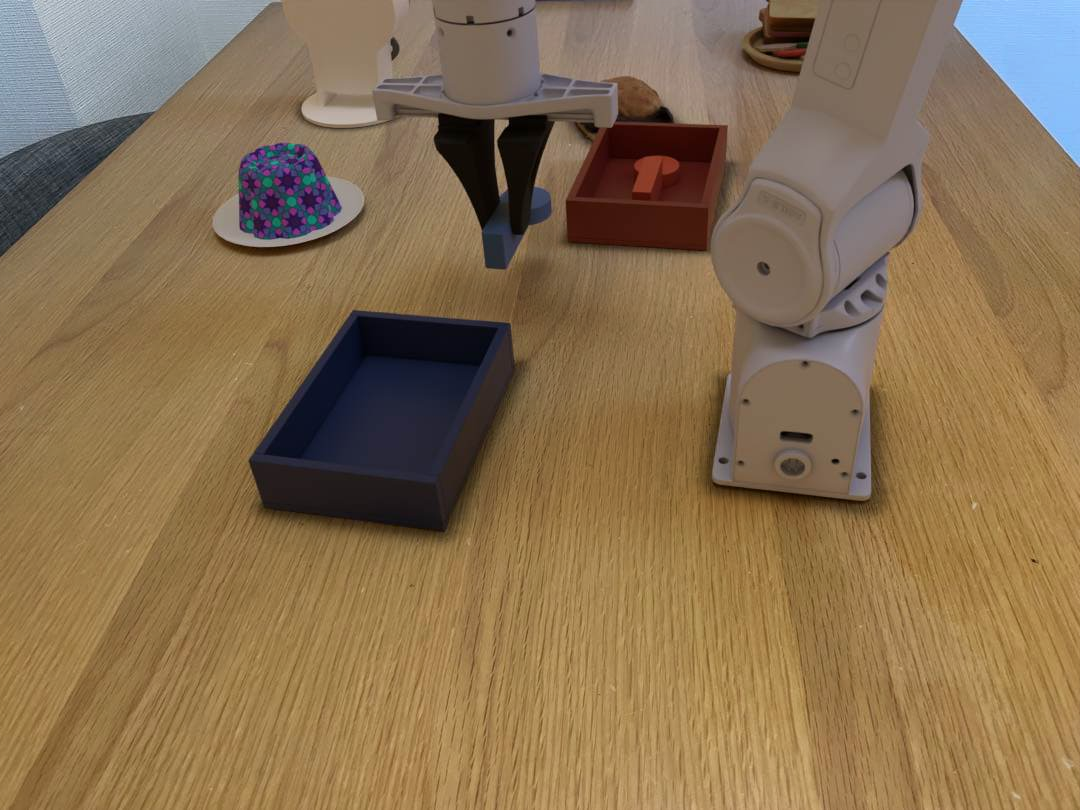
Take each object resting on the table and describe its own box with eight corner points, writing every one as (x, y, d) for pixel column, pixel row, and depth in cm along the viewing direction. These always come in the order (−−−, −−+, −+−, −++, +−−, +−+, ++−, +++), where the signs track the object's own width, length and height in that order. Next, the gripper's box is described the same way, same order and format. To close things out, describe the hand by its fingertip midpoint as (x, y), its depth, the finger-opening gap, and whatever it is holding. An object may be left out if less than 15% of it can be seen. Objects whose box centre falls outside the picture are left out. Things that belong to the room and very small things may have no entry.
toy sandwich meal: (732, 73, 97) (735, 23, 94) (750, 27, 107) (754, -19, 104) (865, 78, 94) (872, 27, 91) (871, 31, 104) (878, -16, 101)
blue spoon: (523, 271, 62) (519, 234, 60) (468, 267, 63) (463, 231, 61) (557, 202, 69) (554, 168, 67) (507, 200, 70) (503, 165, 68)
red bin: (706, 250, 71) (708, 207, 69) (567, 241, 73) (565, 200, 71) (725, 164, 81) (727, 124, 79) (603, 159, 84) (602, 120, 82)
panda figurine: (439, 84, 100) (418, -77, 91) (400, 130, 91) (372, -42, 82) (330, 81, 103) (299, -76, 93) (282, 125, 94) (242, -42, 85)
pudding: (296, 269, 73) (279, 204, 69) (182, 236, 78) (162, 174, 75) (396, 199, 80) (385, 138, 77) (287, 173, 86) (272, 115, 82)
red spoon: (665, 225, 73) (665, 193, 72) (617, 222, 74) (616, 190, 72) (681, 170, 80) (682, 139, 79) (638, 168, 81) (637, 138, 79)
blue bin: (444, 531, 51) (435, 483, 48) (263, 507, 53) (247, 460, 51) (515, 368, 61) (510, 322, 59) (362, 353, 64) (352, 309, 61)
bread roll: (561, 109, 93) (558, 70, 91) (646, 94, 94) (645, 56, 92) (595, 153, 85) (593, 111, 83) (687, 136, 86) (688, 95, 84)
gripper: (625, -13, 57) (628, 203, 65) (388, -13, 60) (421, 192, 68) (602, 27, 51) (608, 257, 60) (343, 25, 55) (384, 243, 63)
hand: (506, 226), depth 64 cm, fingers closed on blue spoon
